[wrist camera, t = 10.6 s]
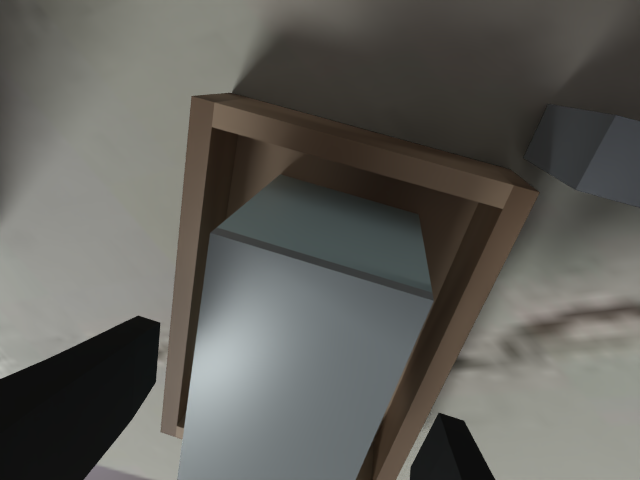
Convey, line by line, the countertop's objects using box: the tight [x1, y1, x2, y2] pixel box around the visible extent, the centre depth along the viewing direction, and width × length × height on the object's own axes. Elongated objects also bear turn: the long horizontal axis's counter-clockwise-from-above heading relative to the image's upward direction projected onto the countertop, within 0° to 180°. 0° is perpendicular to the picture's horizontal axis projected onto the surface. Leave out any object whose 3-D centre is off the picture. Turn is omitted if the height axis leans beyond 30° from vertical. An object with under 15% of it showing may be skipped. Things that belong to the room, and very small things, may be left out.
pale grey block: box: [177, 174, 434, 480], centre depth 11 cm, size 4×8×5 cm, turn 166°
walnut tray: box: [161, 93, 540, 480], centre depth 13 cm, size 9×12×2 cm
